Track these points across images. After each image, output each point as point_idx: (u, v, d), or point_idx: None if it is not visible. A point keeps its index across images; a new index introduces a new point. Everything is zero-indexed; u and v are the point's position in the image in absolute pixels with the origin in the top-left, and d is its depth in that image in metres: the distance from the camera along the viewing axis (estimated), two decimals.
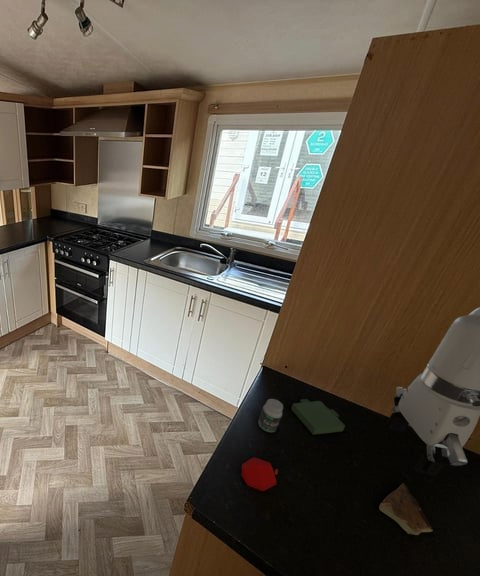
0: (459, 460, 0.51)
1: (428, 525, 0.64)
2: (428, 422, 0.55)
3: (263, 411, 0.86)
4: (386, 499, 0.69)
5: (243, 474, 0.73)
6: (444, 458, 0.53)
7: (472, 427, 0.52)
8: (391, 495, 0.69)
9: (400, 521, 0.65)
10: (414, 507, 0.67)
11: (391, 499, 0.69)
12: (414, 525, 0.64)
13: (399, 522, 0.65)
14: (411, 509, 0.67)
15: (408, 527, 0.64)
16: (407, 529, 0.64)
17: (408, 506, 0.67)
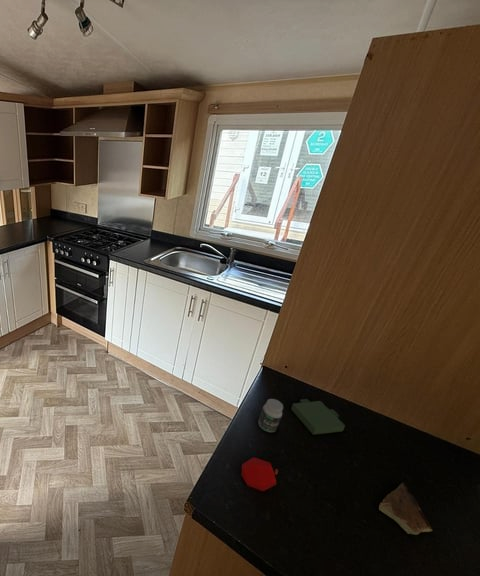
0: None
1: (428, 525, 0.64)
2: None
3: (263, 411, 0.86)
4: (386, 499, 0.69)
5: (243, 474, 0.73)
6: None
7: None
8: (390, 495, 0.69)
9: (400, 521, 0.65)
10: (414, 507, 0.67)
11: (391, 499, 0.69)
12: (414, 525, 0.64)
13: (399, 522, 0.65)
14: (411, 508, 0.67)
15: (407, 526, 0.64)
16: (407, 529, 0.64)
17: (408, 505, 0.67)
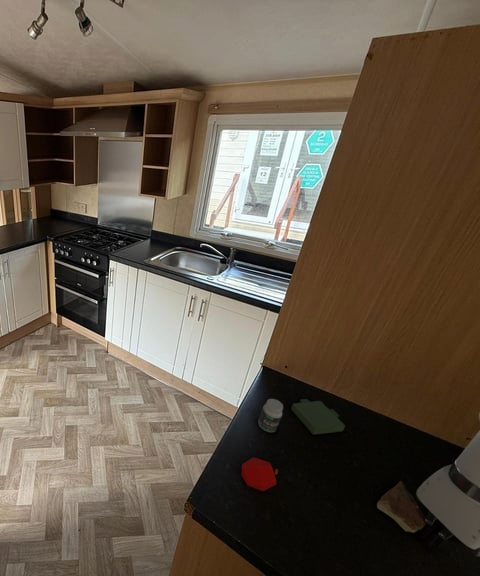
0: (477, 555, 0.55)
1: (425, 522, 0.65)
2: (468, 527, 0.55)
3: (263, 411, 0.86)
4: (384, 497, 0.69)
5: (243, 474, 0.73)
6: None
7: None
8: (388, 493, 0.70)
9: (397, 519, 0.65)
10: (411, 505, 0.68)
11: (389, 497, 0.69)
12: (411, 523, 0.64)
13: (396, 520, 0.66)
14: (409, 506, 0.67)
15: (405, 524, 0.64)
16: (404, 527, 0.65)
17: (406, 503, 0.68)
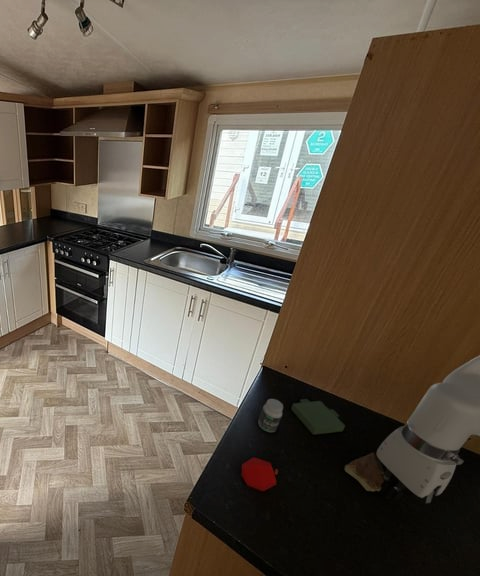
0: (425, 503, 0.62)
1: None
2: (417, 477, 0.62)
3: (263, 411, 0.86)
4: (352, 462, 0.76)
5: (243, 474, 0.73)
6: (410, 490, 0.64)
7: (451, 477, 0.60)
8: (358, 460, 0.77)
9: (360, 479, 0.73)
10: (377, 471, 0.74)
11: (357, 463, 0.76)
12: (373, 484, 0.72)
13: (360, 481, 0.73)
14: (374, 472, 0.74)
15: (366, 484, 0.72)
16: (366, 486, 0.72)
17: (372, 469, 0.75)
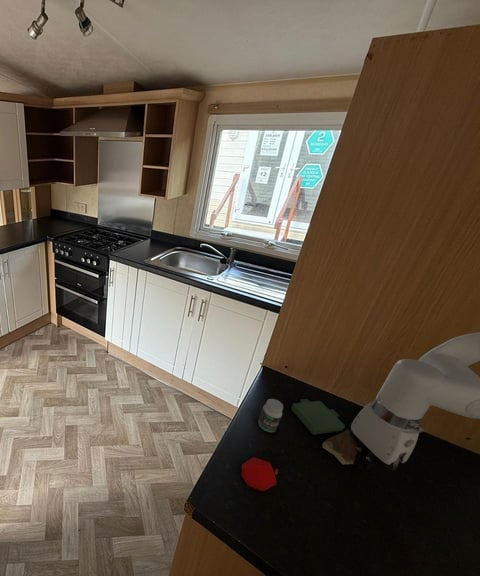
0: None
1: None
2: (384, 446, 0.68)
3: (263, 411, 0.86)
4: (329, 439, 0.82)
5: (243, 474, 0.73)
6: (379, 458, 0.70)
7: (414, 445, 0.66)
8: (334, 437, 0.83)
9: (337, 454, 0.79)
10: (352, 446, 0.80)
11: (333, 439, 0.82)
12: (347, 457, 0.77)
13: (336, 455, 0.79)
14: (349, 447, 0.80)
15: (342, 458, 0.77)
16: (342, 460, 0.78)
17: (347, 444, 0.81)
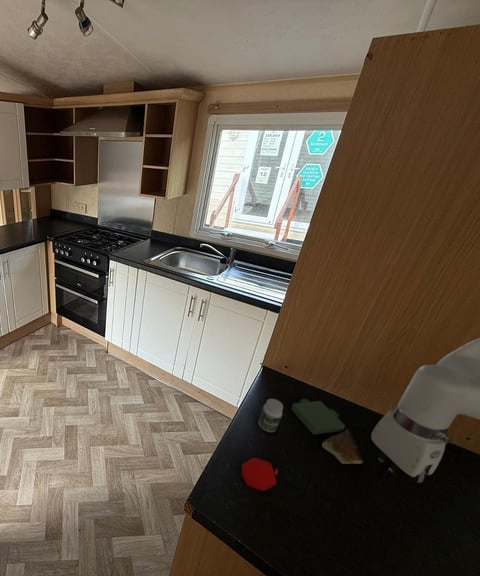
0: (417, 482, 0.64)
1: (360, 458, 0.78)
2: (408, 457, 0.64)
3: (263, 411, 0.86)
4: (329, 439, 0.82)
5: (243, 474, 0.73)
6: (403, 470, 0.66)
7: (441, 456, 0.62)
8: (334, 437, 0.83)
9: (336, 454, 0.79)
10: (351, 445, 0.81)
11: (333, 439, 0.82)
12: (347, 457, 0.77)
13: (336, 455, 0.79)
14: (349, 446, 0.80)
15: (342, 458, 0.78)
16: (341, 460, 0.78)
17: (346, 444, 0.81)
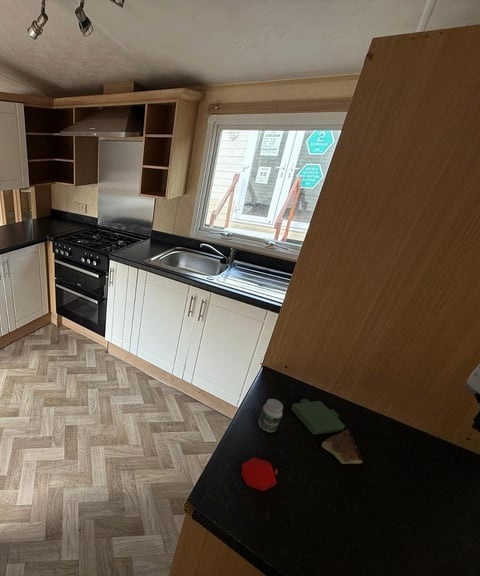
0: None
1: (359, 458, 0.78)
2: None
3: (263, 411, 0.86)
4: (329, 439, 0.82)
5: (243, 474, 0.73)
6: None
7: None
8: (334, 436, 0.83)
9: (336, 454, 0.79)
10: (351, 445, 0.81)
11: (333, 439, 0.82)
12: (347, 457, 0.77)
13: (336, 455, 0.79)
14: (348, 446, 0.80)
15: (341, 458, 0.78)
16: (341, 460, 0.78)
17: (346, 444, 0.81)
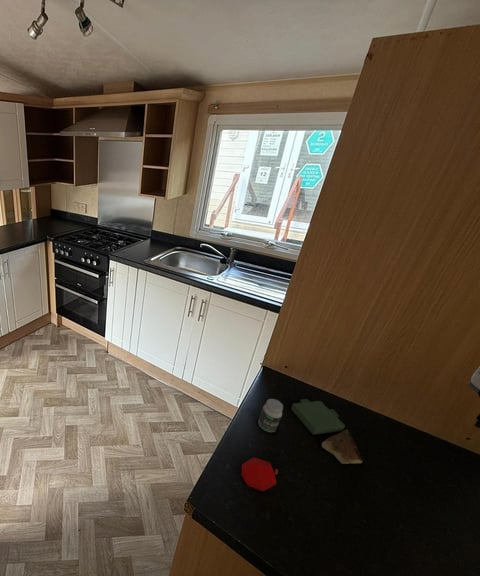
0: None
1: (359, 458, 0.78)
2: None
3: (263, 411, 0.86)
4: (328, 439, 0.82)
5: (243, 474, 0.73)
6: None
7: None
8: (333, 436, 0.83)
9: (336, 454, 0.79)
10: (351, 445, 0.81)
11: (333, 439, 0.82)
12: (347, 457, 0.78)
13: (335, 455, 0.79)
14: (348, 446, 0.80)
15: (341, 458, 0.78)
16: (341, 460, 0.78)
17: (346, 444, 0.81)
